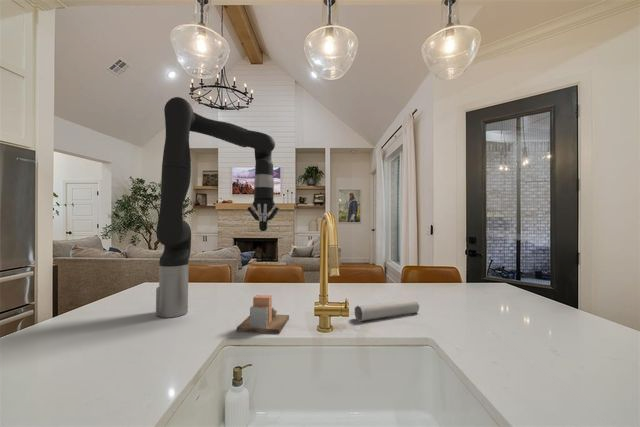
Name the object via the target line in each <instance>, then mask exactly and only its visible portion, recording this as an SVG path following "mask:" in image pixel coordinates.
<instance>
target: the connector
mask: <svg viewBox="0 0 640 427" xmlns="http://www.w3.org/2000/svg"><path fill="white" fill-rule="evenodd" d="M249 316H250V328H258V329H267V327H268V306H253V305H251V306H250V307H249Z"/></svg>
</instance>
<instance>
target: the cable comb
mask: <svg viewBox="0 0 640 427" xmlns="http://www.w3.org/2000/svg"><path fill="white" fill-rule="evenodd" d="M277 315H278V309H277V308H276V307H275V306H272V316H277Z"/></svg>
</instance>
